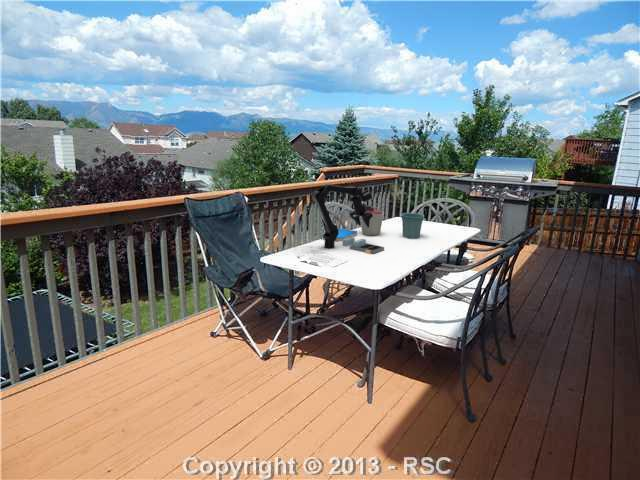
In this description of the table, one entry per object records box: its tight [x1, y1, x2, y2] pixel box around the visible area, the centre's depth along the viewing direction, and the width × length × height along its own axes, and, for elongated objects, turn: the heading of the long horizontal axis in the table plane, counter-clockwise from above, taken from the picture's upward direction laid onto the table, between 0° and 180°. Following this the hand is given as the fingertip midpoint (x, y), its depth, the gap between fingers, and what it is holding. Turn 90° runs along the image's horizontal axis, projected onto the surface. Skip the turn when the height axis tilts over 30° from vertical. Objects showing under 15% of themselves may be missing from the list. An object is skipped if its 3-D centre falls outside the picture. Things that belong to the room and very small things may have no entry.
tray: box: [303, 252, 347, 268], centre depth 240 cm, size 20×28×4 cm
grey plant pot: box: [359, 205, 385, 237], centre depth 301 cm, size 18×18×21 cm
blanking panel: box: [342, 237, 356, 247], centre depth 270 cm, size 9×3×5 cm, turn 139°
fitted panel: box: [353, 238, 367, 247], centre depth 262 cm, size 9×3×5 cm, turn 139°
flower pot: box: [400, 212, 425, 239], centre depth 296 cm, size 16×16×16 cm
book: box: [320, 228, 358, 243], centre depth 293 cm, size 17×4×25 cm
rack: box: [349, 242, 385, 255], centre depth 259 cm, size 13×19×3 cm
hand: (364, 226), depth 270 cm, fingers open, 9 cm apart
